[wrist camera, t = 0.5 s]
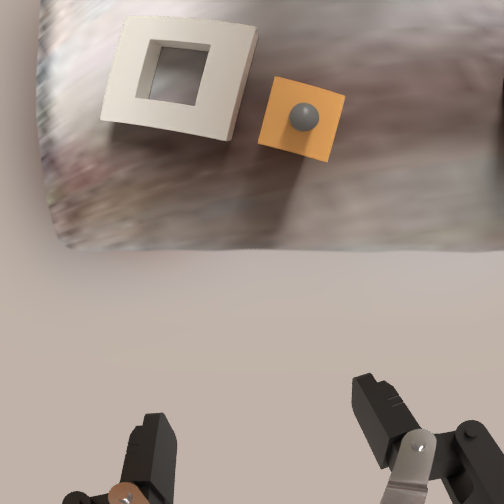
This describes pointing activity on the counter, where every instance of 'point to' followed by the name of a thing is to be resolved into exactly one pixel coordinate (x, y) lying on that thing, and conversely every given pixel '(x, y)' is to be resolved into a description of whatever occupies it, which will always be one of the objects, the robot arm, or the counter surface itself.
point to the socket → (212, 83)
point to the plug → (301, 119)
